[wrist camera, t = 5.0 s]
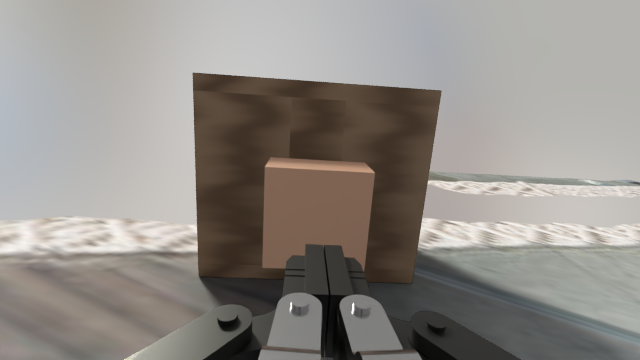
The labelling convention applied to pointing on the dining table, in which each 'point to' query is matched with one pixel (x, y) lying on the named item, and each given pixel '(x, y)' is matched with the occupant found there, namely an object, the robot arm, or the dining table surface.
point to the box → (314, 144)
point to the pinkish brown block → (315, 208)
